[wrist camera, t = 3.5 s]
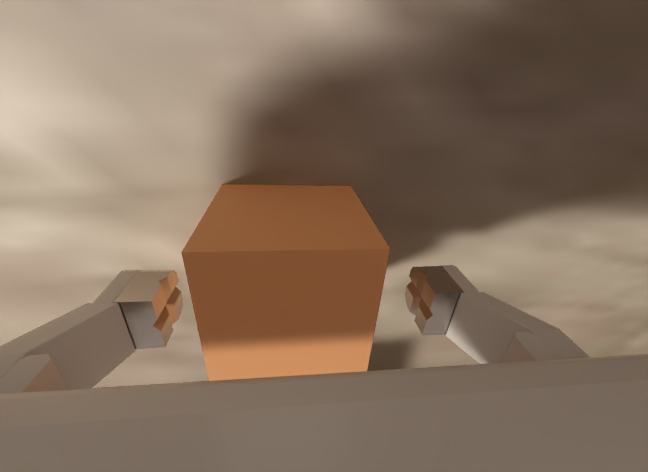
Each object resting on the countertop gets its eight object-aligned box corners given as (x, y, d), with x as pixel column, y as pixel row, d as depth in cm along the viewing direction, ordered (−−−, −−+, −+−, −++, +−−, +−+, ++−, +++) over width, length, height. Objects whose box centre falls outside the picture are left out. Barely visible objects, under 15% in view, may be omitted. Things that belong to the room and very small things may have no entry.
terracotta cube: (222, 183, 11) (182, 252, 7) (350, 185, 12) (390, 248, 7) (235, 287, 13) (210, 388, 9) (340, 283, 14) (365, 376, 10)
